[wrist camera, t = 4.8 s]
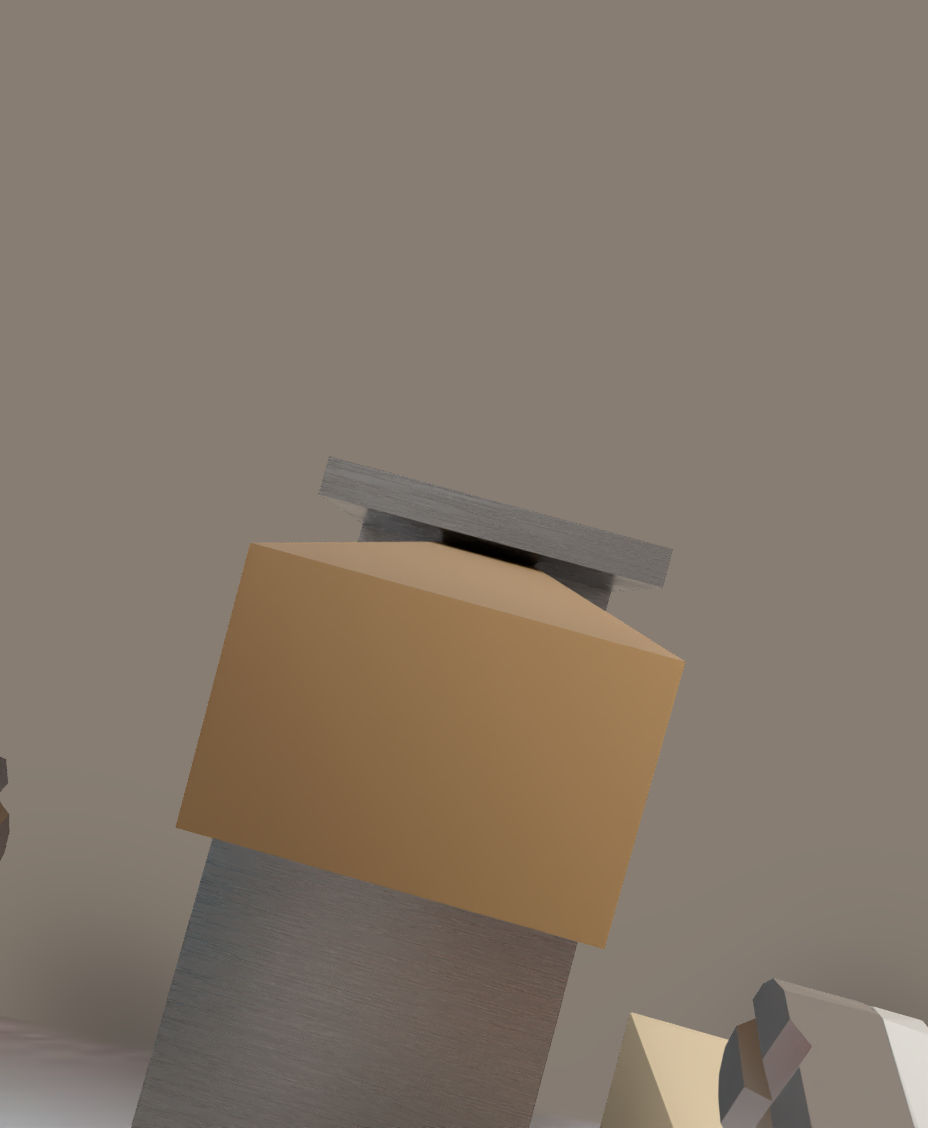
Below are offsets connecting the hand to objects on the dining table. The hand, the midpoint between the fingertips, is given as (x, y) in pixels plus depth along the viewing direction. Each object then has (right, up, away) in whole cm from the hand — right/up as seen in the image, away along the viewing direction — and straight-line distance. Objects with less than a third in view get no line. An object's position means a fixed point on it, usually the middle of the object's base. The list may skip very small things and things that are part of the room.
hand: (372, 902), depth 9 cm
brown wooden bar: (+1, +2, +8) cm, 8 cm away
